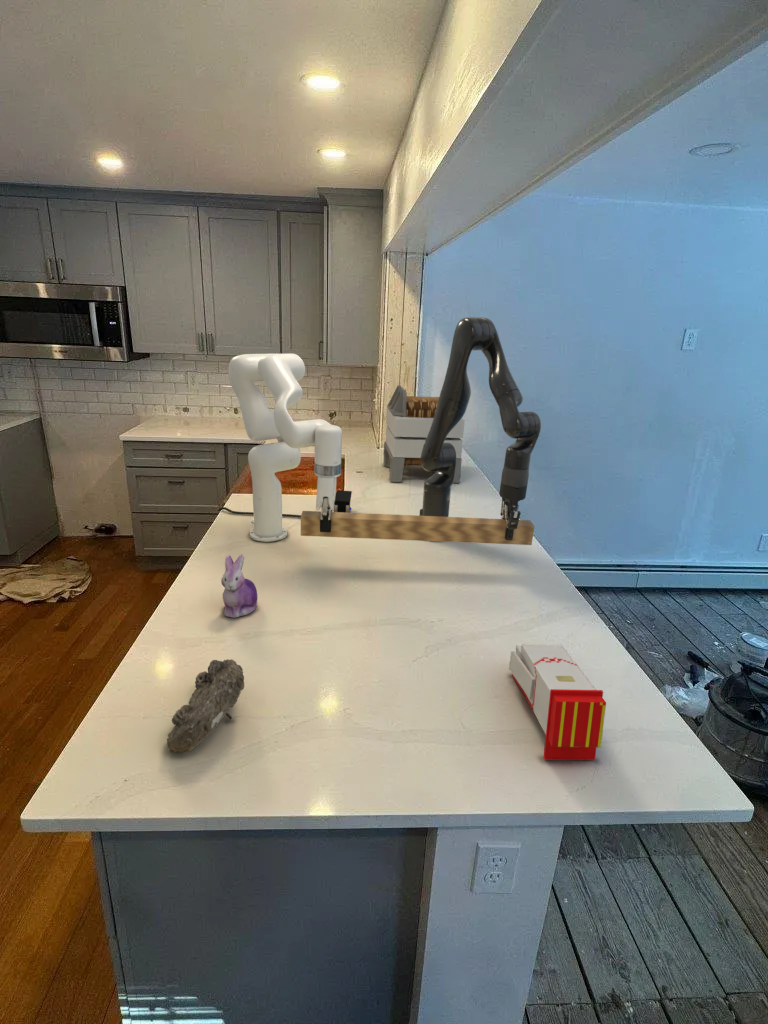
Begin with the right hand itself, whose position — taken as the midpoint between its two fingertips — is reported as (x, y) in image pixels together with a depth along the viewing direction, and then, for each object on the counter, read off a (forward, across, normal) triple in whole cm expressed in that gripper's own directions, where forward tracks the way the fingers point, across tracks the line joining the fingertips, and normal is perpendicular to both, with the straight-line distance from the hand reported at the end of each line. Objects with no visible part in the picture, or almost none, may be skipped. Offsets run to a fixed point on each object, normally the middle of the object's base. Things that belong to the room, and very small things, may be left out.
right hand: (506, 535), depth 169 cm
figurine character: (+14, -47, -51) cm, 71 cm away
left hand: (0, 0, -54) cm, 54 cm away
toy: (+11, +63, -4) cm, 64 cm away
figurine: (+13, +27, -73) cm, 79 cm away
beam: (+2, 0, -27) cm, 27 cm away
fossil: (+12, +68, -69) cm, 97 cm away
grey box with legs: (+15, -109, -18) cm, 111 cm away
